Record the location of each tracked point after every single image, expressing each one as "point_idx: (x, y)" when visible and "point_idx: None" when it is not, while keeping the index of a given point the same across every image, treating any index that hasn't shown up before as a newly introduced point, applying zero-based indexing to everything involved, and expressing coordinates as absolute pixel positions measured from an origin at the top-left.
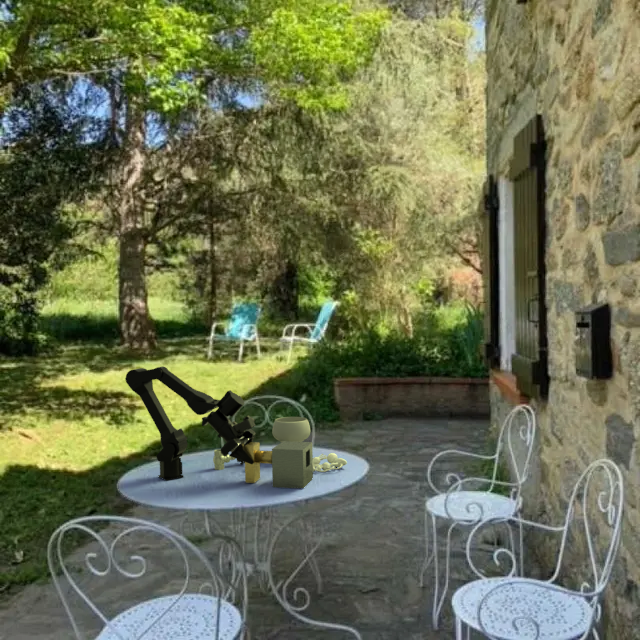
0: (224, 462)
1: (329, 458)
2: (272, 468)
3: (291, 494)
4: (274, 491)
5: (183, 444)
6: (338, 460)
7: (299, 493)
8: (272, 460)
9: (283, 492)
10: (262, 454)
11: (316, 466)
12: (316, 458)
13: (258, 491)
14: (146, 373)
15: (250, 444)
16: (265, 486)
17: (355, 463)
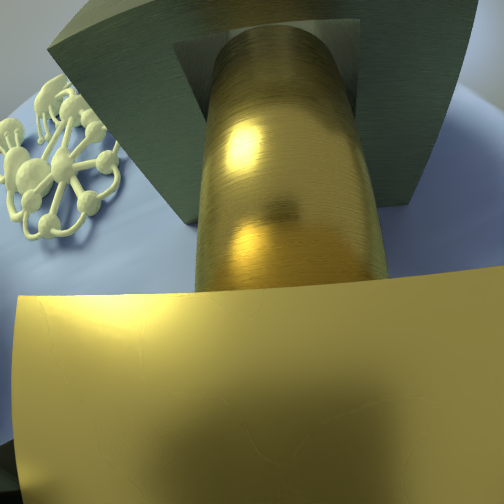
0: None
1: (13, 133)
2: (440, 128)
3: (458, 104)
4: (463, 173)
5: None
6: (51, 89)
7: None
8: (455, 79)
9: (455, 134)
10: (366, 192)
11: (70, 133)
12: (15, 150)
13: (498, 248)
14: None
15: None
16: (405, 251)
17: (31, 104)
